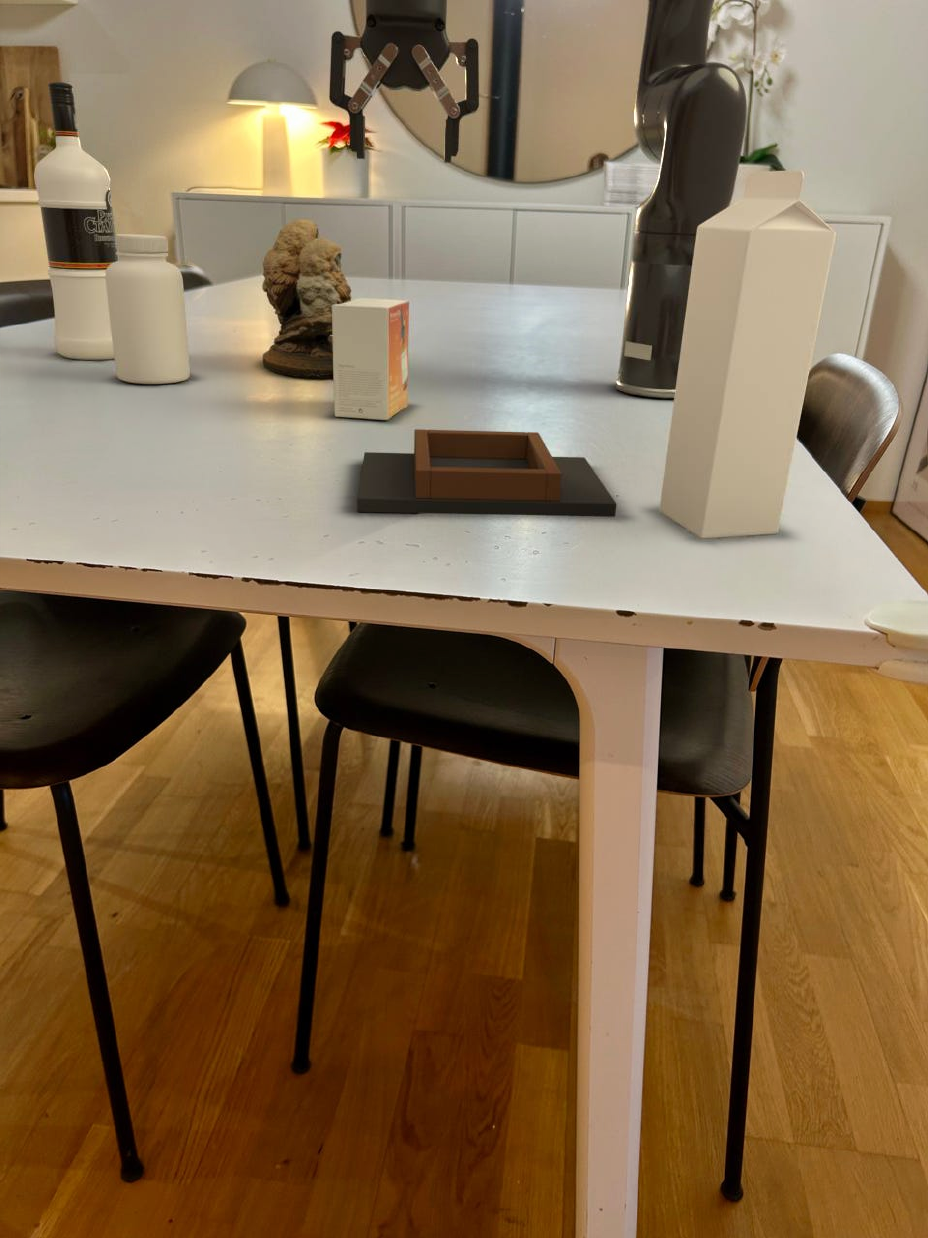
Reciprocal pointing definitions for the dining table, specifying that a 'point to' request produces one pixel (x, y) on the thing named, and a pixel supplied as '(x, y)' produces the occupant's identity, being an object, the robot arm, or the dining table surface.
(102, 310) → the vodka
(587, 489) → the dock pad
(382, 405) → the small box
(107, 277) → the pill bottle
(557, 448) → the dining table surface
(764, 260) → the milk
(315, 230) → the owl figurine
